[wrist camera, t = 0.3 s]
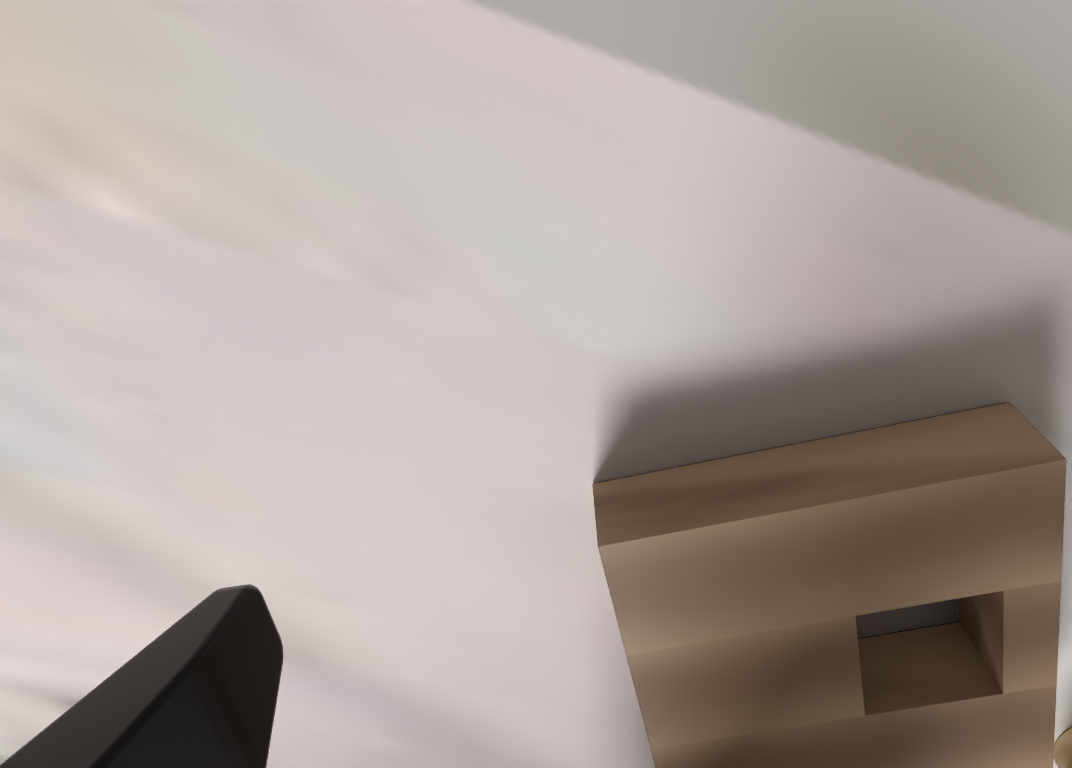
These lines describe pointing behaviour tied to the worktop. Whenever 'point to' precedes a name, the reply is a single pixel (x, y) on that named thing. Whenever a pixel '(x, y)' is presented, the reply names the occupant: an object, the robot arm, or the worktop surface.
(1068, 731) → the oak peg
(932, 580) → the walnut block
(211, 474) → the worktop surface
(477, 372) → the worktop surface
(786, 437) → the worktop surface
